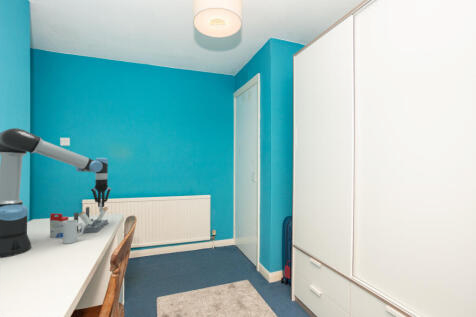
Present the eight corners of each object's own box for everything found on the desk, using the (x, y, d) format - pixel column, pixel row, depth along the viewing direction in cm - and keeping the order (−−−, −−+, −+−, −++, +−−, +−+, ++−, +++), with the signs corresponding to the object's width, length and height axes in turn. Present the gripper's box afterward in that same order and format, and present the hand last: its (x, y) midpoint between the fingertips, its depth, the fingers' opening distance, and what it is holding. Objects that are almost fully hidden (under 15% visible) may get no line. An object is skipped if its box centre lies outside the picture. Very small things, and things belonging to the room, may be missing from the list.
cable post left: (73, 233, 146) (73, 215, 146) (69, 233, 146) (69, 215, 146) (78, 230, 153) (79, 212, 153) (74, 230, 153) (75, 212, 153)
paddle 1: (90, 224, 150) (80, 212, 149) (87, 226, 150) (78, 214, 148) (93, 222, 154) (83, 211, 153) (90, 224, 154) (81, 213, 153)
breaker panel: (96, 232, 149) (97, 224, 149) (79, 233, 147) (79, 225, 147) (107, 223, 169) (107, 216, 169) (92, 224, 167) (93, 217, 167)
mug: (61, 244, 127) (61, 223, 127) (63, 241, 133) (64, 220, 133) (83, 242, 132) (83, 221, 132) (84, 238, 138) (84, 218, 138)
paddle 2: (98, 221, 161) (106, 209, 162) (95, 220, 161) (103, 207, 162) (100, 220, 165) (108, 207, 166) (98, 218, 165) (105, 206, 166)
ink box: (68, 235, 143) (69, 212, 143) (61, 237, 138) (62, 213, 138) (56, 234, 144) (56, 211, 144) (49, 237, 139) (49, 213, 139)
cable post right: (88, 223, 168) (88, 207, 169) (84, 223, 168) (85, 207, 168) (94, 220, 179) (94, 204, 179) (90, 220, 178) (91, 204, 179)
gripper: (112, 178, 169) (112, 209, 169) (93, 178, 166) (93, 210, 166) (109, 179, 162) (109, 212, 162) (89, 179, 159) (89, 213, 159)
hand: (101, 211), depth 164 cm, fingers closed
